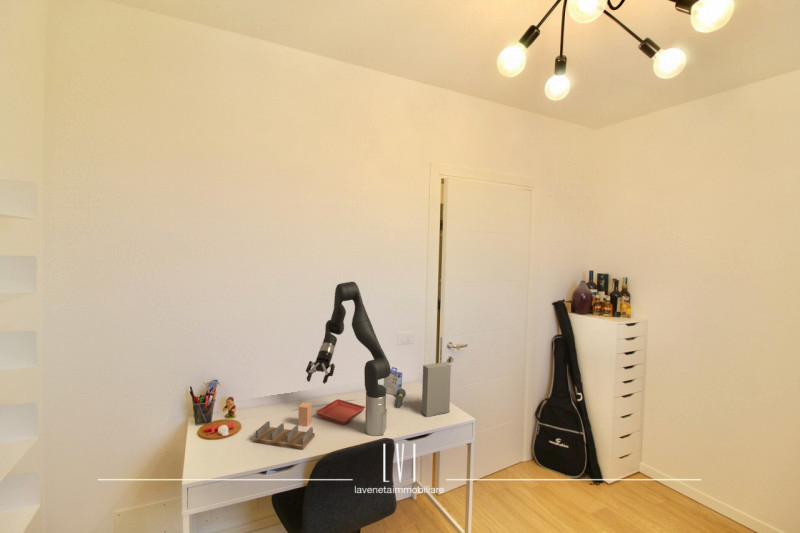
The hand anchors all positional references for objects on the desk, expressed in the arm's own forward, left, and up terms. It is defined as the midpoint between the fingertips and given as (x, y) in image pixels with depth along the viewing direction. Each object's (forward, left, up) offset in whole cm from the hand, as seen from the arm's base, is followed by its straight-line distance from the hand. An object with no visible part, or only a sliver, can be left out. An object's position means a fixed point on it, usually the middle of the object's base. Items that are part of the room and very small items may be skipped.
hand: (316, 382), depth 177 cm
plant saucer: (-13, -1, -16) cm, 21 cm away
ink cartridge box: (-32, -35, -16) cm, 50 cm away
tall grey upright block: (-59, -16, -16) cm, 63 cm away
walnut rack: (+2, +27, -16) cm, 31 cm away
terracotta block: (0, +12, -16) cm, 20 cm away
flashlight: (-39, -25, -16) cm, 49 cm away
